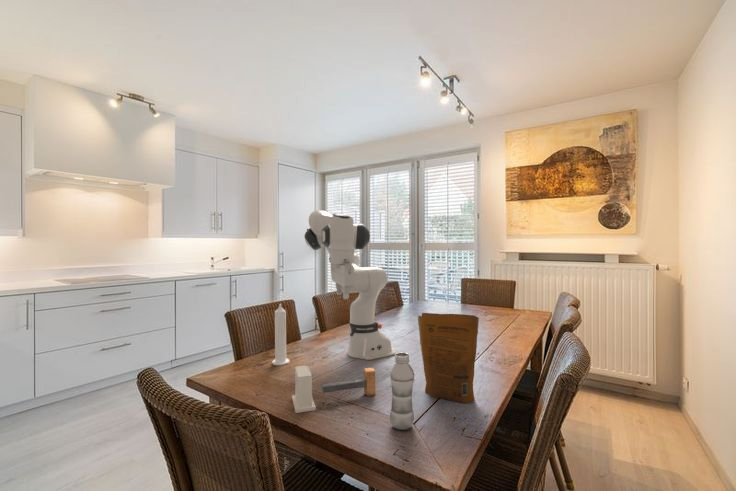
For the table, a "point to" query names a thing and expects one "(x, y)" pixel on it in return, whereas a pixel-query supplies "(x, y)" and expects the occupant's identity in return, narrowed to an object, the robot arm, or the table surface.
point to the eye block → (303, 390)
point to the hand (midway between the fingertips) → (342, 296)
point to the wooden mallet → (354, 384)
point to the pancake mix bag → (449, 354)
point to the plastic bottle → (402, 393)
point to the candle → (280, 337)
